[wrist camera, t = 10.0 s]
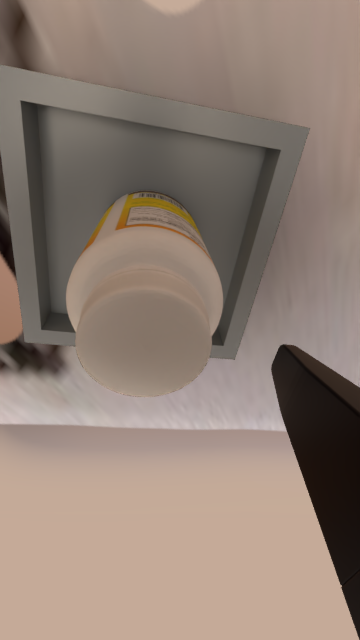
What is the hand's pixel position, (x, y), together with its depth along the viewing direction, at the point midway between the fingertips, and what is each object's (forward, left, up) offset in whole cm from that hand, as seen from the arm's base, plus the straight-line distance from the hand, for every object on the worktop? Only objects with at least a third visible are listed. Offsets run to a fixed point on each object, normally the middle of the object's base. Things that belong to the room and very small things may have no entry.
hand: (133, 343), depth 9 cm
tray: (0, 0, -11) cm, 11 cm away
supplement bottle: (0, 0, -10) cm, 10 cm away
